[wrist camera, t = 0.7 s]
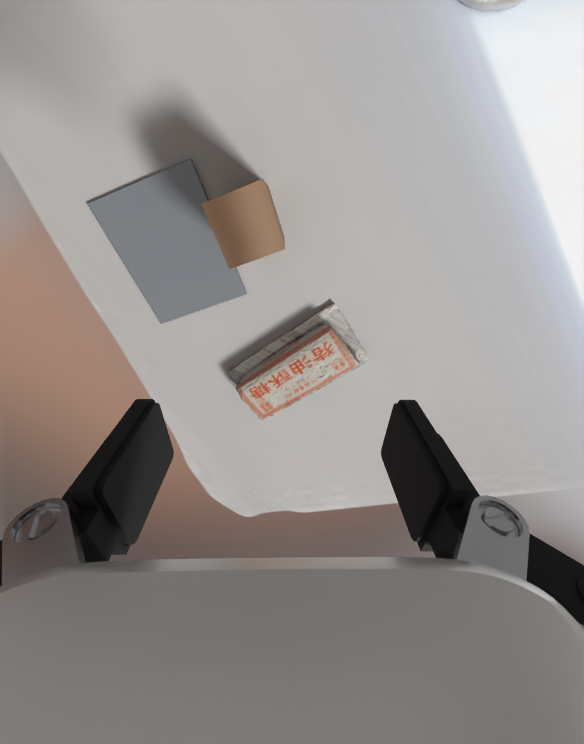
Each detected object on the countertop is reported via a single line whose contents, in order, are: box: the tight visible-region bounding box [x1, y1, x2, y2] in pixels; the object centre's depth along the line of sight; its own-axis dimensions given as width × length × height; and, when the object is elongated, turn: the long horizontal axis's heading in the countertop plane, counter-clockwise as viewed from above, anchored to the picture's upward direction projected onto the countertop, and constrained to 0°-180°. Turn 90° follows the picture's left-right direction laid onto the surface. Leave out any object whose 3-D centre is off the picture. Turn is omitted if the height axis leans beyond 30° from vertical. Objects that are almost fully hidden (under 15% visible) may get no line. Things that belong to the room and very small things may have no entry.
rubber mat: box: [88, 159, 247, 324], centre depth 31 cm, size 12×14×1 cm
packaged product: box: [228, 303, 370, 420], centre depth 38 cm, size 18×5×10 cm
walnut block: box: [202, 179, 285, 269], centre depth 26 cm, size 5×5×10 cm
